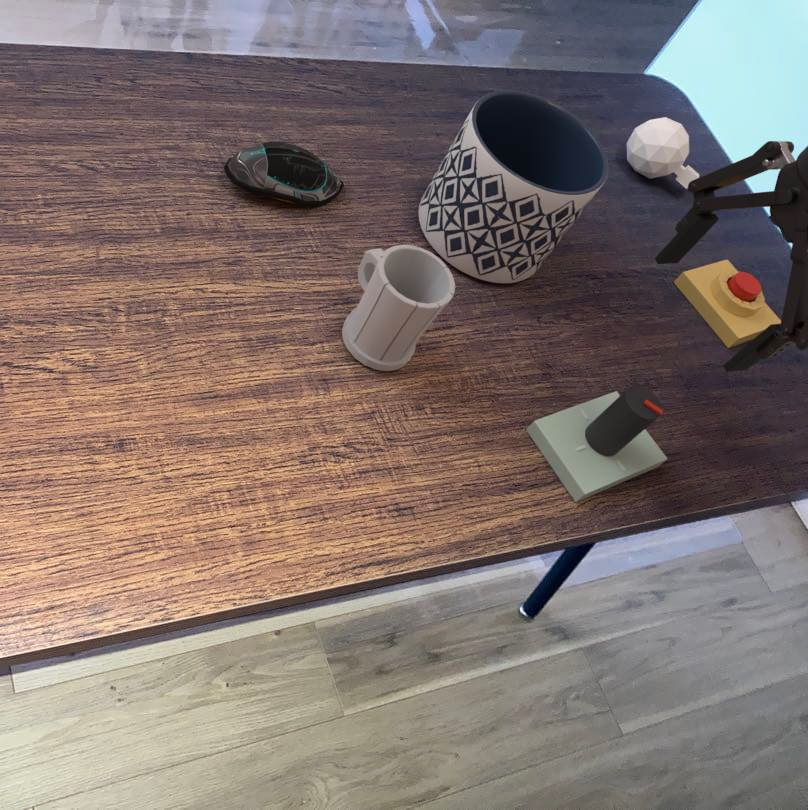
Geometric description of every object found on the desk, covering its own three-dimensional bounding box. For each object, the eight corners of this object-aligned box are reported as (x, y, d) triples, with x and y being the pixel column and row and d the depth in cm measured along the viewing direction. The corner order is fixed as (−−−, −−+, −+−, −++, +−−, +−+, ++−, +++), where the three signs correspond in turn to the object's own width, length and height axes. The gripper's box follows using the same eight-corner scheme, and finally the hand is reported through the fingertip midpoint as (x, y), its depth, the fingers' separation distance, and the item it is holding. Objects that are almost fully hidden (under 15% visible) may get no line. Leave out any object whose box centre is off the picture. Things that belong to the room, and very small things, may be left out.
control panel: (607, 399, 111) (617, 389, 110) (657, 467, 108) (668, 458, 106) (525, 429, 105) (534, 419, 103) (575, 502, 101) (586, 493, 99)
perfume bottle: (608, 156, 138) (668, 209, 137) (655, 107, 132) (718, 162, 131) (616, 146, 145) (672, 197, 144) (661, 100, 139) (720, 152, 138)
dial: (579, 441, 104) (622, 401, 97) (591, 416, 106) (633, 376, 100) (612, 463, 103) (657, 425, 96) (623, 438, 106) (668, 399, 99)
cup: (316, 342, 104) (353, 273, 94) (343, 292, 109) (380, 223, 99) (398, 386, 103) (442, 321, 94) (421, 334, 109) (465, 268, 99)
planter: (389, 208, 120) (442, 108, 107) (475, 171, 129) (533, 76, 116) (482, 305, 114) (549, 213, 101) (565, 259, 124) (636, 170, 111)
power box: (771, 332, 128) (792, 315, 125) (728, 348, 123) (748, 330, 120) (717, 269, 133) (735, 250, 129) (673, 282, 128) (691, 263, 125)
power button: (758, 299, 125) (767, 291, 124) (740, 304, 123) (749, 296, 122) (739, 277, 127) (748, 269, 125) (721, 282, 125) (730, 274, 124)
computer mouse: (351, 212, 117) (367, 179, 113) (226, 208, 111) (238, 173, 107) (333, 164, 122) (348, 131, 117) (213, 158, 116) (223, 123, 111)
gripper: (753, 49, 79) (612, 221, 95) (934, 269, 67) (737, 421, 84) (813, 53, 81) (666, 219, 98) (997, 265, 70) (794, 413, 87)
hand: (698, 312), depth 91 cm, fingers open, 13 cm apart
